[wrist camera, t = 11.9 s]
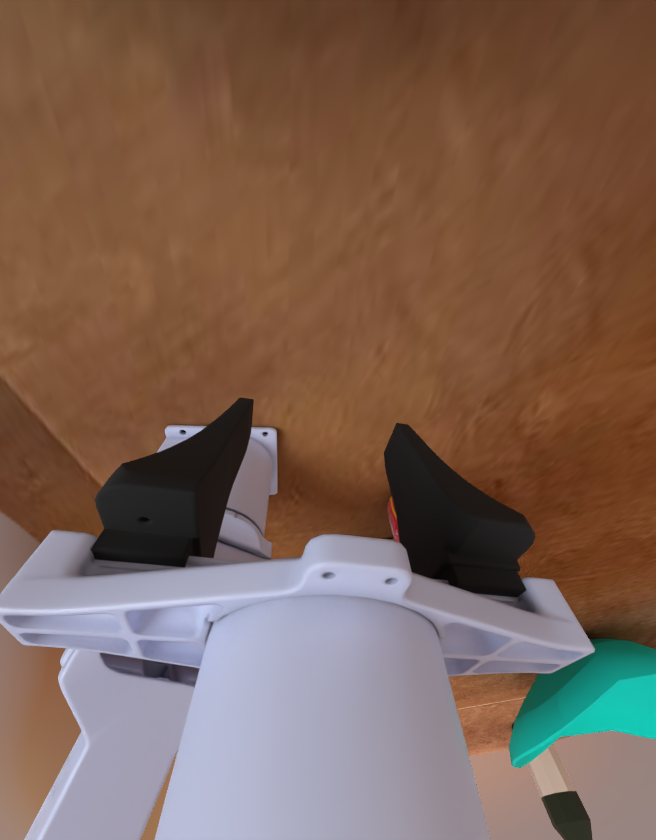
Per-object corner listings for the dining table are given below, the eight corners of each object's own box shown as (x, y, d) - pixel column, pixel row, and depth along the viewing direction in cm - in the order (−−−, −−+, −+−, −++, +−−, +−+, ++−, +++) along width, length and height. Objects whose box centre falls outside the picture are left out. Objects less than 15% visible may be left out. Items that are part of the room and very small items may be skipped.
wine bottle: (520, 719, 81) (619, 941, 56) (547, 717, 82) (656, 934, 57) (505, 729, 85) (591, 940, 60) (531, 727, 87) (626, 934, 61)
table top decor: (717, 596, 51) (833, 698, 40) (640, 665, 66) (710, 753, 55) (487, 623, 51) (540, 735, 39) (461, 687, 65) (494, 781, 54)
